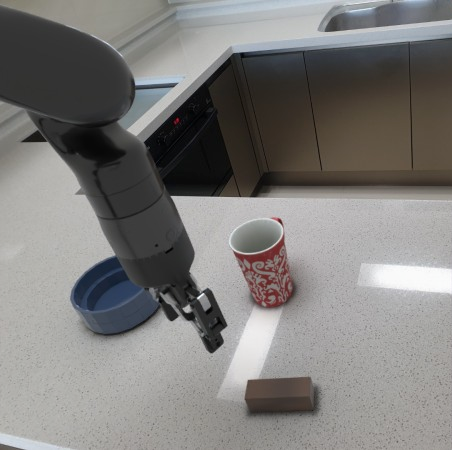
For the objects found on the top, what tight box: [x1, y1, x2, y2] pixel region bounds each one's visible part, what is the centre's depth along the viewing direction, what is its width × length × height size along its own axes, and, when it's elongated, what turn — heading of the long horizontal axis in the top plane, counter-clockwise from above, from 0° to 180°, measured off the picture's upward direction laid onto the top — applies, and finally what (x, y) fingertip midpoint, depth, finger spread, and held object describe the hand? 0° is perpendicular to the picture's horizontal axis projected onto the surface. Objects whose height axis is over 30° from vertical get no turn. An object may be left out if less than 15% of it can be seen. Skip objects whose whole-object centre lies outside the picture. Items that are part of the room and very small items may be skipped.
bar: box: [244, 376, 315, 413], centre depth 64 cm, size 9×3×3 cm, turn 86°
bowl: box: [69, 254, 160, 335], centre depth 85 cm, size 15×15×6 cm
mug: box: [228, 216, 294, 308], centre depth 79 cm, size 13×9×14 cm
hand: (195, 331), depth 58 cm, fingers open, 8 cm apart
